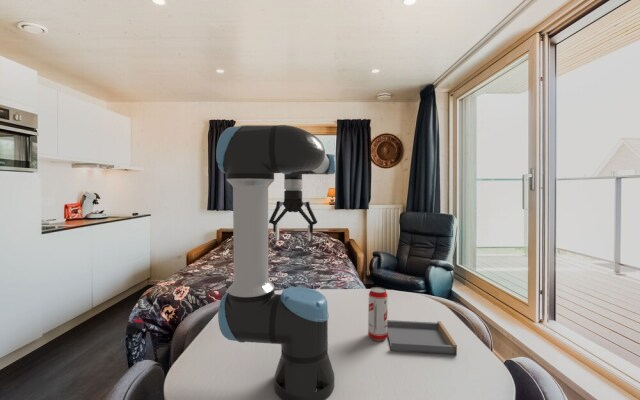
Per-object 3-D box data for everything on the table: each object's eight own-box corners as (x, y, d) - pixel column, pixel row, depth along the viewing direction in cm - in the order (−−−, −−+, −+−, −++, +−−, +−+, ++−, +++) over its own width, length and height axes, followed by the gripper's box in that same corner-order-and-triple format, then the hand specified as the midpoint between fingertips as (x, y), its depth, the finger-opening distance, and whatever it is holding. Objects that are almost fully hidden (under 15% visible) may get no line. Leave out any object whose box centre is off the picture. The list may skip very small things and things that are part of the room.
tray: (456, 355, 86) (456, 345, 86) (391, 350, 88) (391, 341, 88) (440, 329, 102) (440, 321, 102) (385, 326, 104) (385, 318, 104)
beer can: (385, 333, 99) (386, 287, 99) (388, 342, 93) (389, 293, 93) (367, 332, 100) (368, 286, 99) (368, 341, 94) (369, 292, 93)
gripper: (323, 190, 124) (323, 239, 124) (266, 189, 126) (266, 238, 127) (321, 190, 116) (321, 242, 117) (261, 189, 119) (261, 241, 119)
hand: (293, 240), depth 122 cm, fingers open, 13 cm apart
